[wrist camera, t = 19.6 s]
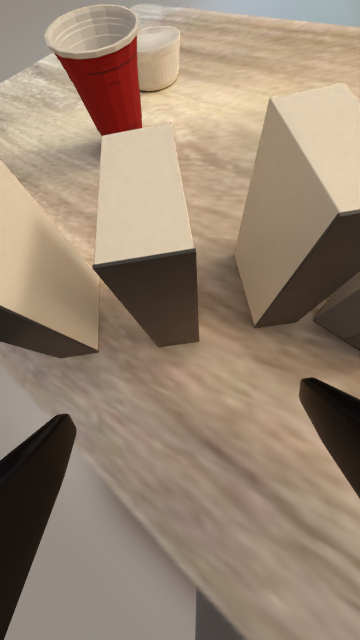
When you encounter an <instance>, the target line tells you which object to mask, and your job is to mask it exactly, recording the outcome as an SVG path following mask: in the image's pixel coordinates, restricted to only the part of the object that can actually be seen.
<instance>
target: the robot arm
mask: <svg viewBox="0 0 360 640" xmlns="http://www.w3.org/2000/svg"><path fill="white" fill-rule="evenodd" d="M299 398H300V401H301V403H302V405H303V407H304V409H305V411H306V412H307V414H308V416H309V418H310V420H311V422H312V424H313V425H314V427H315V429H316V431H317V433H318V435H319V437H320V438H321V440H322V442H323V444H324V445H325V447H326V448H327V450H328V451H329V453H330V454H331V456H332V457H333V459H334V460H335V462H336V463H337V465H338V466H339V468H340V469H341V471H342V473H343V474H344V476H345V477H346V479H347V480H348V482H349V483H350V485H351V486H352V488H353V489H354V491H355V492H356V494H357V495H358V497H359V498H360V399H357V398H355V397H353V396H351V395H349V394H347V393H345V392H343V391H341V390H339V389H337V388H335V387H332V386H330V385H328V384H326V383H324V382H322V381H320V380H318V379H316V378H313V377H311V378H304V379H302V380H301V381H300V391H299ZM75 437H76V426H75V425H74V423H73V421H72V419H71V417H70V415H69V414H59V415H56V416H55V417H53V418H52V419H51V420H50V421H49V422H47V423H46V424H45V425H44V426H42V427H41V428H40V429H39V430H37V431H36V432H35V433H34V434H32V435H31V436H30V437H29V438H28V439H26V440H25V441H24V442H23V443H21V444H20V445H19V446H18V447H17V448H15V449H14V450H13V451H11V452H10V453H9V454H8V455H7V456H5V457H4V458H3V459H2V460H0V640H4V637H5V635H6V632H7V630H8V626H9V624H10V621H11V619H12V616H13V613H14V611H15V608H16V605H17V603H18V600H19V597H20V595H21V592H22V589H23V587H24V584H25V581H26V579H27V576H28V573H29V571H30V567H31V565H32V562H33V560H34V557H35V554H36V552H37V549H38V546H39V544H40V541H41V538H42V536H43V533H44V530H45V527H46V525H47V522H48V519H49V517H50V514H51V511H52V508H53V506H54V503H55V501H56V498H57V495H58V493H59V490H60V487H61V484H62V481H63V478H64V476H65V472H66V469H67V465H68V462H69V458H70V454H71V451H72V447H73V444H74V440H75Z"/></svg>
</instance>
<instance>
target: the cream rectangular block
mask: <svg viewBox="0 0 360 640" xmlns="http://www.w3.org/2000/svg"><path fill="white" fill-rule="evenodd" d="M93 270H94V271H95V272H96V273H97V274H98V276H99V277H100V278H101V279H102V280H103V282H104V283H105V284H106V285H107V286H108V288H109V289H110V290H111V291H112V292H113V294H114V295H115V296H116V297H117V298H118V299H119V301H120V302H121V303H122V304H123V305H124V307H125V308H126V309H127V310H128V311H129V313H130V314H131V315H132V316H133V317H134V319H135V320H136V321H137V322H138V323H139V325H140V326H141V327H142V328H143V329H144V330H145V332H146V333H147V334H148V335H149V336H150V338H151V339H152V340H153V341H154V342H155V344H156V345H157V346H158V347H164V346H171V345H178V344H185V343H193V342H199V323H198V294H197V265H196V249H195V248H194V245H193V240H192V234H191V229H190V223H189V218H188V212H187V207H186V201H185V196H184V190H183V185H182V179H181V174H180V168H179V163H178V158H177V152H176V147H175V141H174V136H173V130H172V125H171V123H165V124H160V125H155V126H150V127H145V128H140V129H135V130H130V131H125V132H119V133H114V134H109V135H104V136H102V140H101V157H100V175H99V192H98V209H97V227H96V244H95V261H94V265H93Z"/></svg>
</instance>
